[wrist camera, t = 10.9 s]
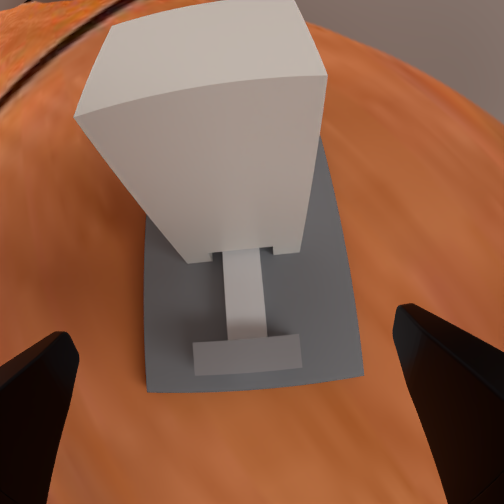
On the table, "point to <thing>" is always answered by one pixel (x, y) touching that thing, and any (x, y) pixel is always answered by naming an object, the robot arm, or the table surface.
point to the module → (212, 122)
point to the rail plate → (253, 310)
